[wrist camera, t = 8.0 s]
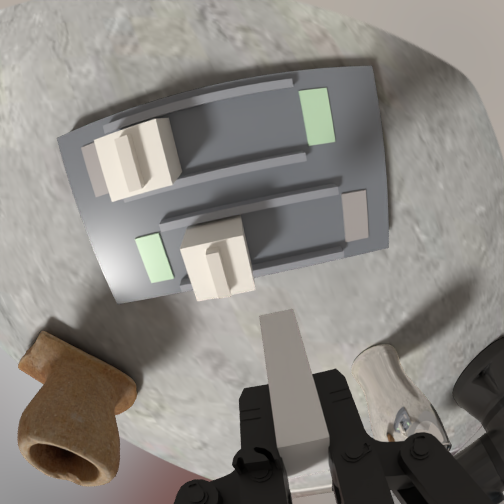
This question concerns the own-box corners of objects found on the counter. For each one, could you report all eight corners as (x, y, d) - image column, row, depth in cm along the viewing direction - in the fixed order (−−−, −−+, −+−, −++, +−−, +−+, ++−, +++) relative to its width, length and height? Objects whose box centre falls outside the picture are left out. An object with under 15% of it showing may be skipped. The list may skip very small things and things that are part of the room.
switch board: (361, 68, 20) (377, 64, 17) (379, 238, 27) (393, 252, 24) (68, 135, 21) (50, 139, 18) (123, 292, 27) (114, 311, 24)
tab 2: (240, 214, 22) (243, 240, 18) (251, 262, 24) (256, 296, 20) (187, 226, 23) (178, 254, 18) (201, 272, 24) (196, 308, 20)
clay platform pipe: (156, 367, 32) (135, 488, 18) (122, 411, 35) (102, 506, 22) (38, 298, 27) (-31, 400, 13) (25, 357, 30) (-20, 443, 17)
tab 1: (168, 117, 19) (152, 119, 15) (182, 172, 21) (170, 188, 16) (116, 134, 19) (88, 141, 15) (130, 186, 21) (107, 206, 17)
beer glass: (336, 374, 34) (374, 482, 20) (373, 334, 32) (431, 443, 18) (373, 385, 36) (414, 478, 22) (409, 348, 34) (464, 441, 20)
